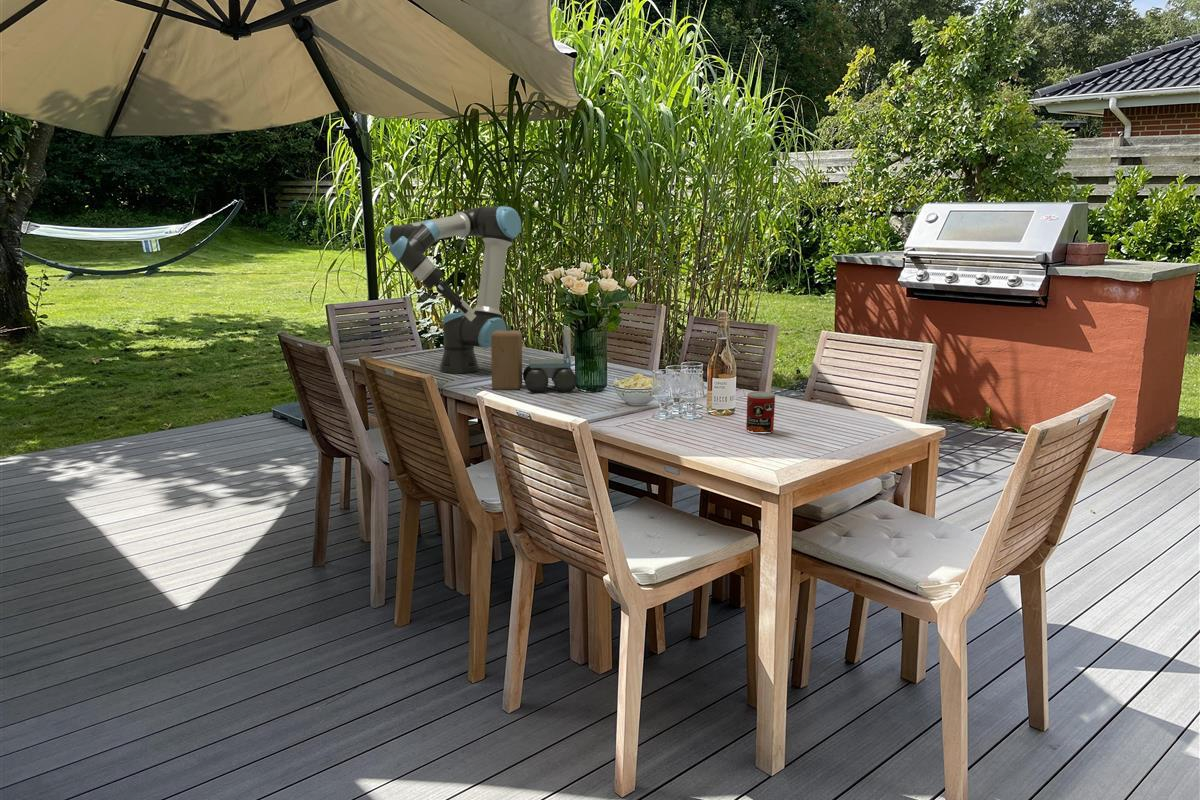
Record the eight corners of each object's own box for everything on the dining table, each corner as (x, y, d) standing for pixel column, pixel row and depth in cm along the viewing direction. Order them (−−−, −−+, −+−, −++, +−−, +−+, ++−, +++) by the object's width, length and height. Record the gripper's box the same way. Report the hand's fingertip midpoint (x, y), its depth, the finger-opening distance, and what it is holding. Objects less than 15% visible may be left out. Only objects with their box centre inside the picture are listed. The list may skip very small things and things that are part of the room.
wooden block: (491, 389, 323) (490, 333, 319) (495, 384, 333) (494, 329, 329) (520, 390, 323) (519, 333, 319) (522, 385, 333) (522, 330, 329)
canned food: (743, 433, 260) (745, 395, 258) (749, 427, 267) (750, 390, 265) (770, 435, 257) (772, 397, 255) (775, 429, 265) (777, 392, 263)
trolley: (522, 386, 331) (522, 317, 326) (572, 385, 333) (572, 316, 328) (525, 393, 317) (524, 321, 312) (577, 392, 319) (577, 321, 314)
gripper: (421, 279, 332) (465, 319, 337) (420, 285, 308) (466, 328, 313) (436, 264, 331) (479, 305, 337) (435, 269, 307) (481, 312, 313)
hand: (473, 316), depth 325 cm, fingers open, 13 cm apart
